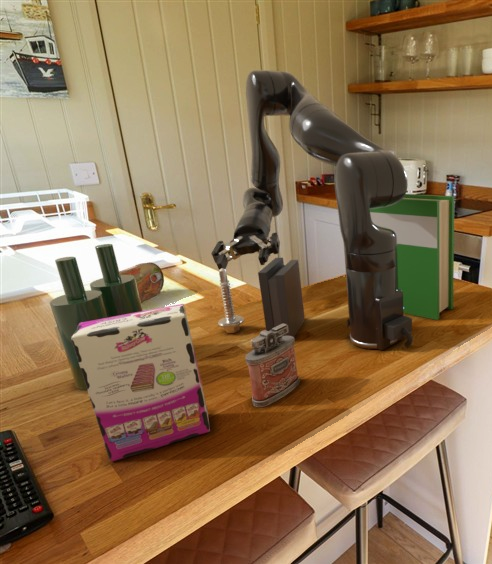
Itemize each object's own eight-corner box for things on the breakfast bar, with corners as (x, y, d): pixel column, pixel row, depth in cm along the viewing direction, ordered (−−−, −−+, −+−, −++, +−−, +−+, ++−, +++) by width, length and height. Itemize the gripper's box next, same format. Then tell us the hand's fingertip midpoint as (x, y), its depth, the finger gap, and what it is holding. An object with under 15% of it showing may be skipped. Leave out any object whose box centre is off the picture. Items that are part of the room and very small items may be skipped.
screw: (240, 323, 87) (248, 331, 83) (216, 330, 84) (223, 338, 81) (231, 263, 83) (238, 268, 79) (205, 267, 80) (211, 273, 77)
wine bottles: (124, 346, 78) (97, 241, 72) (159, 346, 78) (135, 240, 72) (63, 390, 65) (22, 265, 58) (105, 390, 65) (69, 264, 58)
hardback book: (453, 308, 92) (454, 196, 84) (437, 320, 86) (437, 201, 78) (385, 294, 101) (381, 192, 93) (367, 304, 95) (361, 197, 87)
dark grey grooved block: (304, 319, 88) (297, 257, 84) (291, 341, 79) (283, 272, 74) (283, 320, 88) (275, 257, 84) (267, 341, 79) (257, 272, 74)
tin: (120, 312, 95) (111, 276, 92) (108, 311, 96) (99, 276, 93) (167, 290, 109) (161, 258, 106) (157, 289, 110) (150, 258, 107)
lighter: (263, 409, 59) (253, 345, 55) (247, 402, 60) (236, 339, 57) (304, 382, 65) (297, 322, 62) (289, 376, 67) (281, 318, 63)
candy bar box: (208, 412, 58) (185, 301, 53) (211, 433, 54) (186, 315, 49) (112, 439, 54) (77, 320, 48) (108, 464, 49) (68, 336, 44)
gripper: (218, 220, 101) (200, 255, 87) (278, 211, 101) (269, 244, 88) (229, 247, 105) (213, 284, 92) (286, 238, 105) (279, 274, 92)
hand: (241, 264), depth 90 cm, fingers open, 8 cm apart
